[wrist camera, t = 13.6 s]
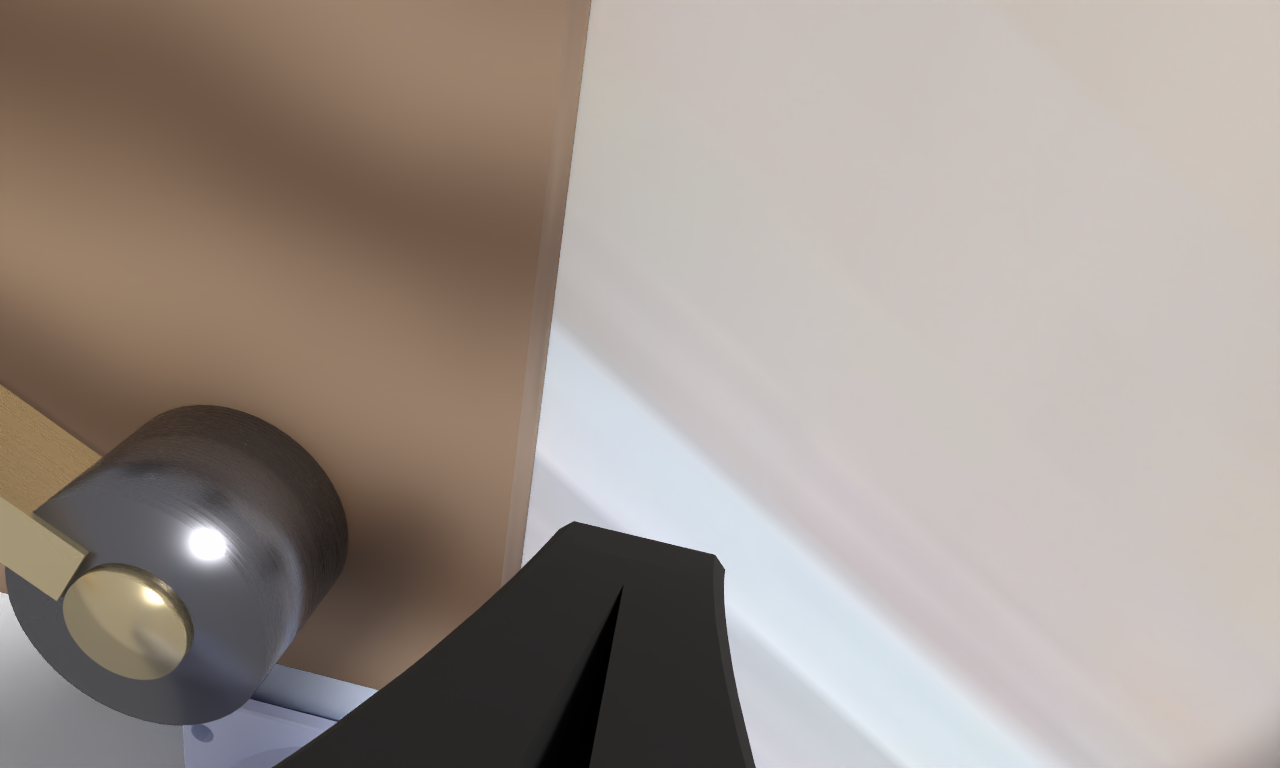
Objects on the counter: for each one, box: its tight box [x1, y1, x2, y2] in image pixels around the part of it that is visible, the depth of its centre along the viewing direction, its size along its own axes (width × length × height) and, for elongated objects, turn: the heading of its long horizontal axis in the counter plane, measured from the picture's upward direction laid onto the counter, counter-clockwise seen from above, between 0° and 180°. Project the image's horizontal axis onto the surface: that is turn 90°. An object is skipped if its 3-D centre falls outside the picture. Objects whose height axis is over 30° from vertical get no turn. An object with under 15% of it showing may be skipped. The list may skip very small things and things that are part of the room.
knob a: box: [0, 384, 349, 725], centre depth 18 cm, size 11×4×3 cm, turn 53°
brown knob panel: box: [0, 0, 591, 690], centre depth 17 cm, size 21×17×4 cm
